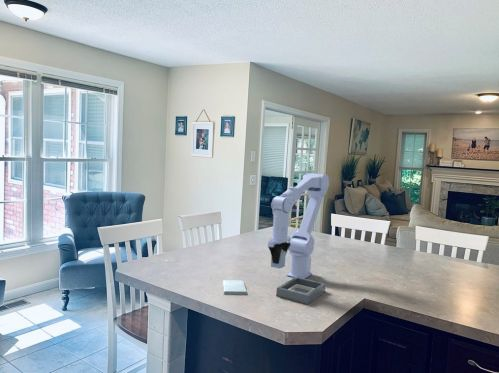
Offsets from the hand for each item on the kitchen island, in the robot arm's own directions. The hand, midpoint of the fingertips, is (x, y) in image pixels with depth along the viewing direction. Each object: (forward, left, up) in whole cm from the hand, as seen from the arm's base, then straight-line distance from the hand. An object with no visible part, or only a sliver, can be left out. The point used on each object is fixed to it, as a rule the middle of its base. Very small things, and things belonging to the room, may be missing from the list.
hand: (278, 262), depth 150 cm
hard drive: (+15, -10, -9) cm, 20 cm away
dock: (+4, +12, -8) cm, 15 cm away
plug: (0, 0, -2) cm, 2 cm away
